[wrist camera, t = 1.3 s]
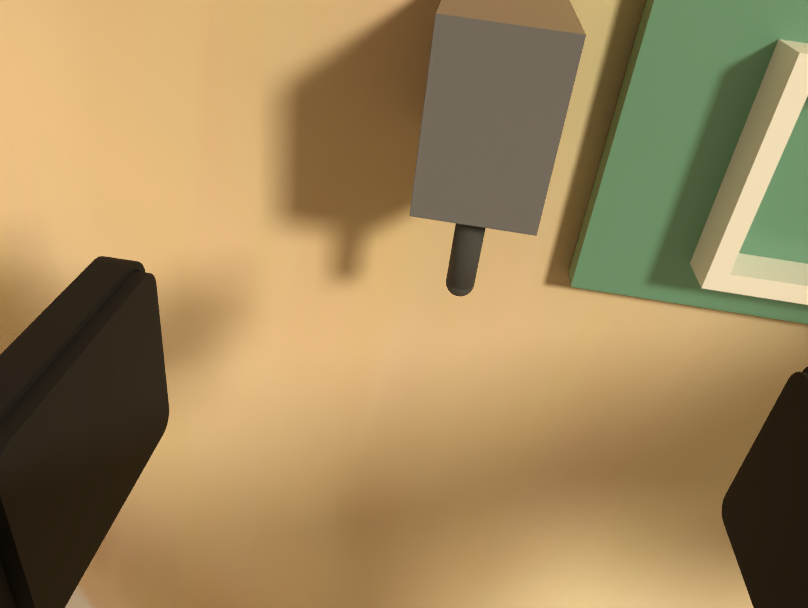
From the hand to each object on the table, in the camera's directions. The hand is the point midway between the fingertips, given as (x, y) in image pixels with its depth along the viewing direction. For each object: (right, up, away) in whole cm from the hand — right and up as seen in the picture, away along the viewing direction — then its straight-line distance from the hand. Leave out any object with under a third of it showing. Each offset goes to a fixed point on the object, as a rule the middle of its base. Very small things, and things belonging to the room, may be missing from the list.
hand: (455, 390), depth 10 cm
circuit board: (+15, +7, +17) cm, 24 cm away
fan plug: (+2, +9, +17) cm, 20 cm away
